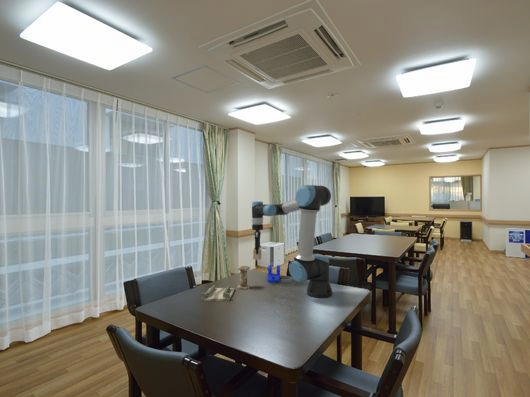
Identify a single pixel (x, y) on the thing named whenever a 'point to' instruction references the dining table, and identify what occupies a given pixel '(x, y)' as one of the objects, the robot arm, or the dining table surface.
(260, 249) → the tab
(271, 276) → the bracket
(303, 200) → the robot arm
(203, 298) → the board
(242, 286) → the bobbin
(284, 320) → the dining table surface
